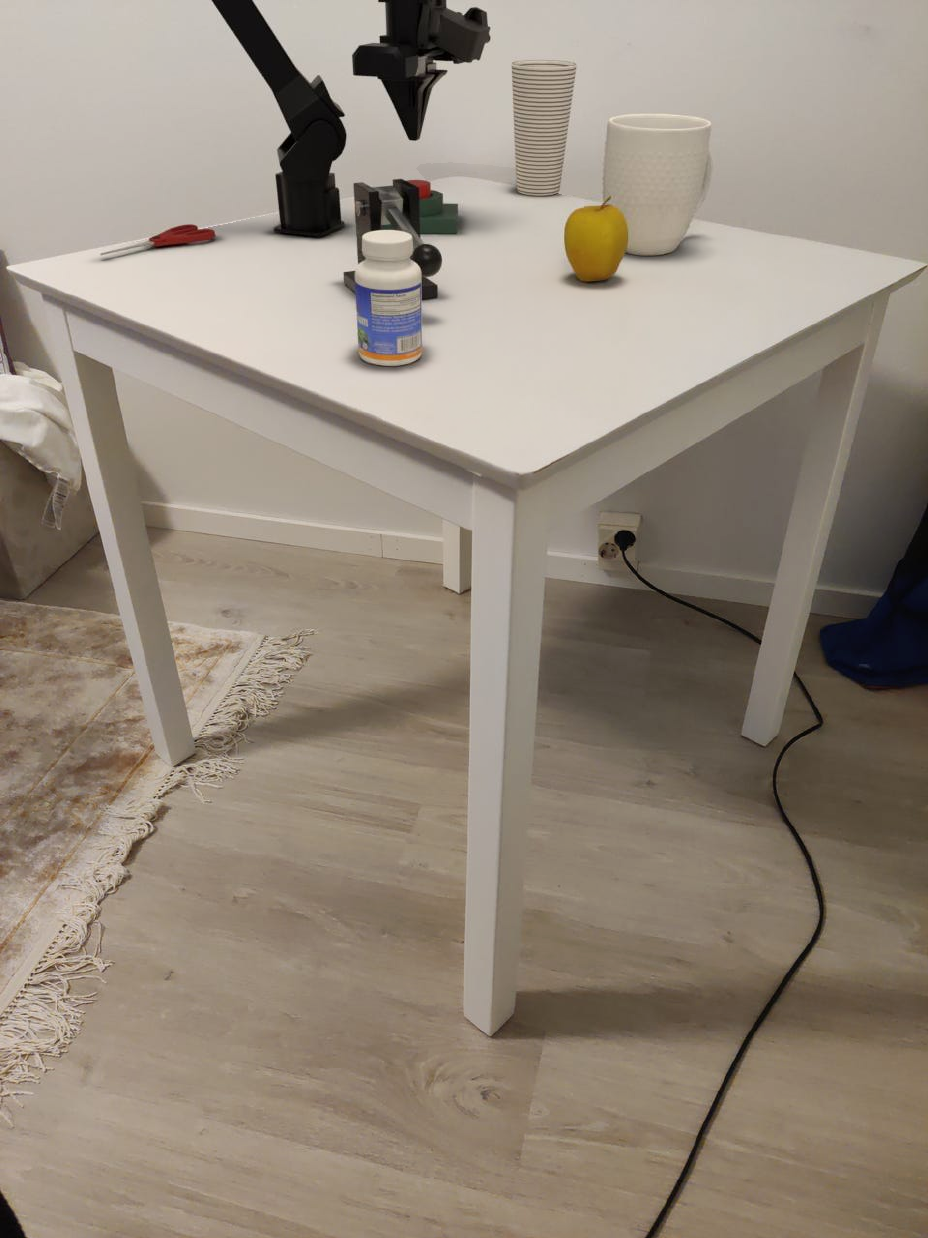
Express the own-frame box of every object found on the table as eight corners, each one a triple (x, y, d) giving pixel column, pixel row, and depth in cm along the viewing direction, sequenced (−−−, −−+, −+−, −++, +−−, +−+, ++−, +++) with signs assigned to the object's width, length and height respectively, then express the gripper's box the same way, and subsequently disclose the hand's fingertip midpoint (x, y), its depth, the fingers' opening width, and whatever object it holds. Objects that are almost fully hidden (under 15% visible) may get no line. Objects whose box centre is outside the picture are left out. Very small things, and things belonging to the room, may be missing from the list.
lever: (445, 281, 86) (448, 252, 84) (416, 284, 85) (419, 255, 83) (394, 210, 93) (396, 182, 91) (367, 213, 92) (368, 185, 90)
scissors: (219, 238, 111) (218, 229, 110) (115, 263, 102) (114, 253, 101) (190, 230, 114) (189, 221, 113) (87, 254, 105) (85, 245, 104)
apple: (630, 275, 100) (639, 193, 95) (612, 291, 95) (620, 206, 91) (573, 267, 102) (579, 187, 98) (552, 283, 97) (557, 200, 93)
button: (399, 201, 114) (399, 185, 113) (402, 194, 117) (401, 179, 116) (430, 201, 114) (429, 185, 113) (431, 195, 117) (431, 179, 116)
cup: (503, 196, 130) (507, 65, 121) (511, 183, 137) (515, 58, 128) (565, 199, 129) (574, 67, 120) (570, 186, 136) (578, 60, 127)
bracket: (437, 297, 94) (436, 190, 88) (371, 306, 91) (365, 196, 85) (407, 275, 99) (404, 174, 94) (343, 283, 97) (336, 179, 91)
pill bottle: (359, 345, 82) (352, 227, 77) (421, 343, 83) (419, 226, 77) (358, 368, 78) (351, 245, 72) (424, 366, 78) (422, 243, 73)
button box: (372, 232, 114) (371, 201, 112) (379, 216, 120) (377, 187, 118) (456, 233, 114) (456, 202, 112) (458, 217, 120) (458, 187, 118)
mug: (662, 226, 117) (677, 106, 109) (735, 245, 110) (756, 118, 102) (576, 246, 109) (585, 118, 102) (648, 267, 102) (664, 132, 95)
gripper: (447, -16, 93) (448, 159, 102) (509, -22, 107) (505, 132, 116) (345, -19, 96) (354, 151, 105) (419, -24, 110) (421, 126, 119)
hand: (414, 139), depth 111 cm, fingers closed
